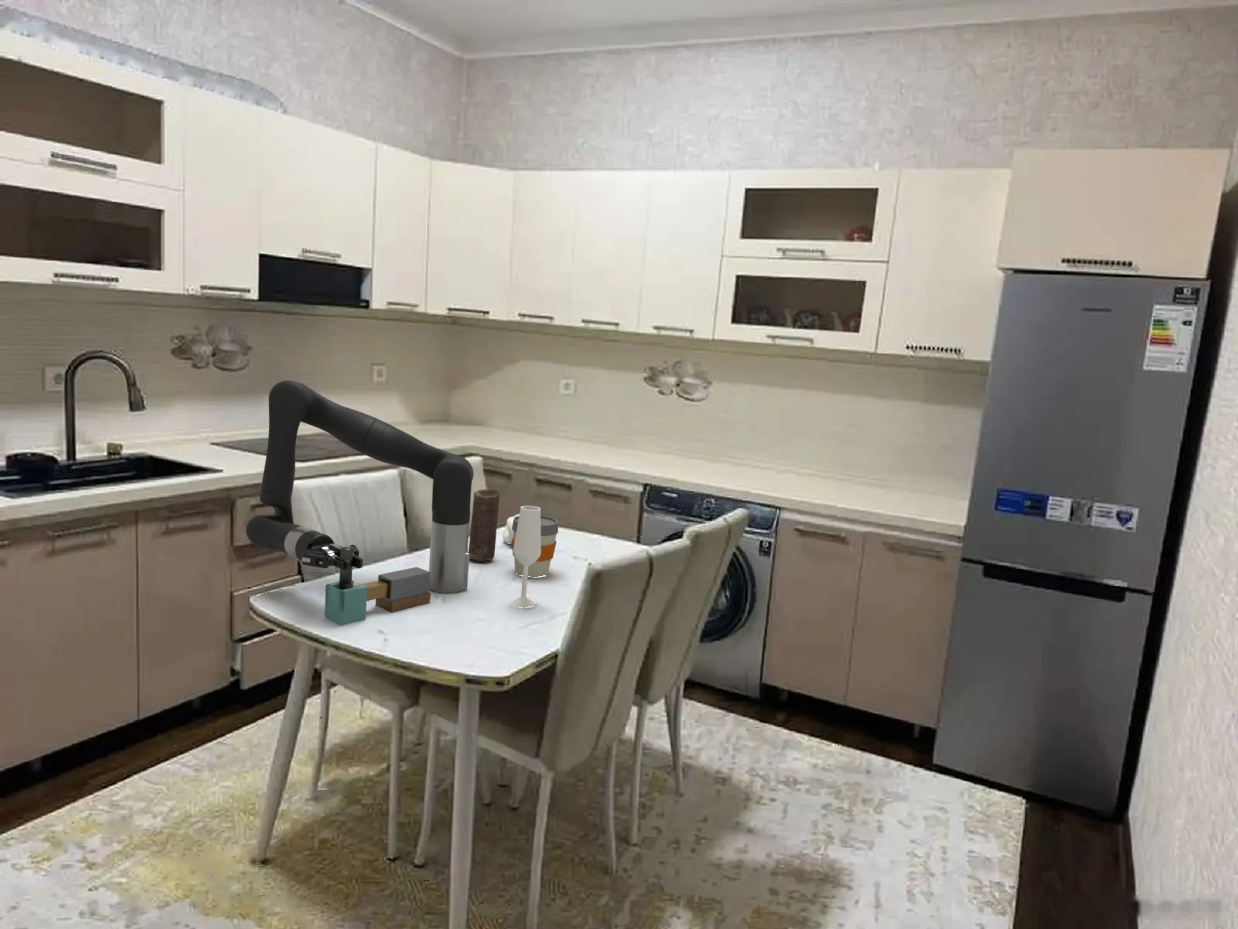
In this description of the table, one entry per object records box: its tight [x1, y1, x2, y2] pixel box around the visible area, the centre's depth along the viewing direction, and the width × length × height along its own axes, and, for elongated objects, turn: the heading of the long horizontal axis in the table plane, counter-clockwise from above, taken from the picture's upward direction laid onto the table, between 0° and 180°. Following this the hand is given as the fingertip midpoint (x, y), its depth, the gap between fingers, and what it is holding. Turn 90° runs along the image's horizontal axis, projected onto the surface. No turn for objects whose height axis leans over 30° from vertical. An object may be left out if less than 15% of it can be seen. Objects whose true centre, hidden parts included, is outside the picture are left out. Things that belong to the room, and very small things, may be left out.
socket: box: [324, 579, 368, 626], centre depth 187 cm, size 6×6×8 cm
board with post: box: [338, 546, 390, 602], centre depth 190 cm, size 14×3×12 cm, turn 142°
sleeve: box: [375, 566, 432, 614], centre depth 199 cm, size 11×6×8 cm, turn 142°
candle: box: [468, 488, 501, 563], centre depth 239 cm, size 8×7×20 cm
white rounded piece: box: [502, 513, 520, 545], centre depth 260 cm, size 11×12×9 cm
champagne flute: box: [509, 505, 542, 608], centre depth 206 cm, size 7×7×24 cm
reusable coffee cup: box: [511, 515, 559, 577], centre depth 232 cm, size 13×13×15 cm
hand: (354, 564), depth 183 cm, fingers closed on board with post, 2 cm apart
